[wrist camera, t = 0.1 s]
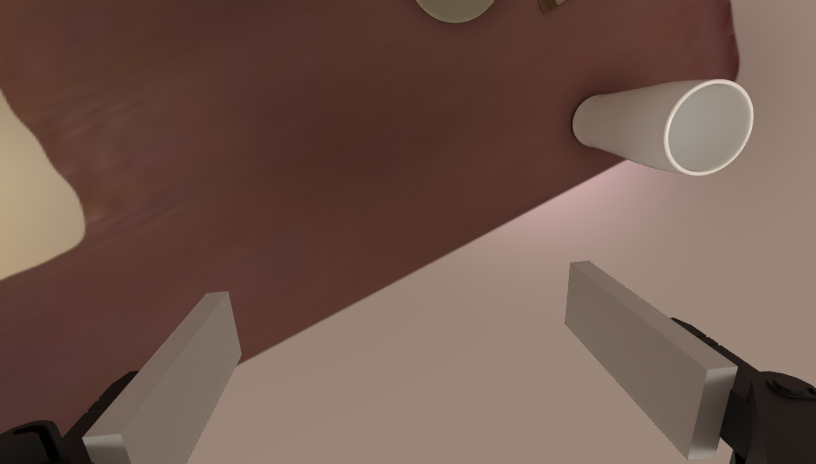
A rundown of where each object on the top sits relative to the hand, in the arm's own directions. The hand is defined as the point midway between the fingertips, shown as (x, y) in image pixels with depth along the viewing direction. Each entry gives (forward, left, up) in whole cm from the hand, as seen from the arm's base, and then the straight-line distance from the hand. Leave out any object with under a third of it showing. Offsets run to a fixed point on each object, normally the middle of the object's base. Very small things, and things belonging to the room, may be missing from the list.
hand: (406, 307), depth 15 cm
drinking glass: (-5, +23, -28) cm, 36 cm away
